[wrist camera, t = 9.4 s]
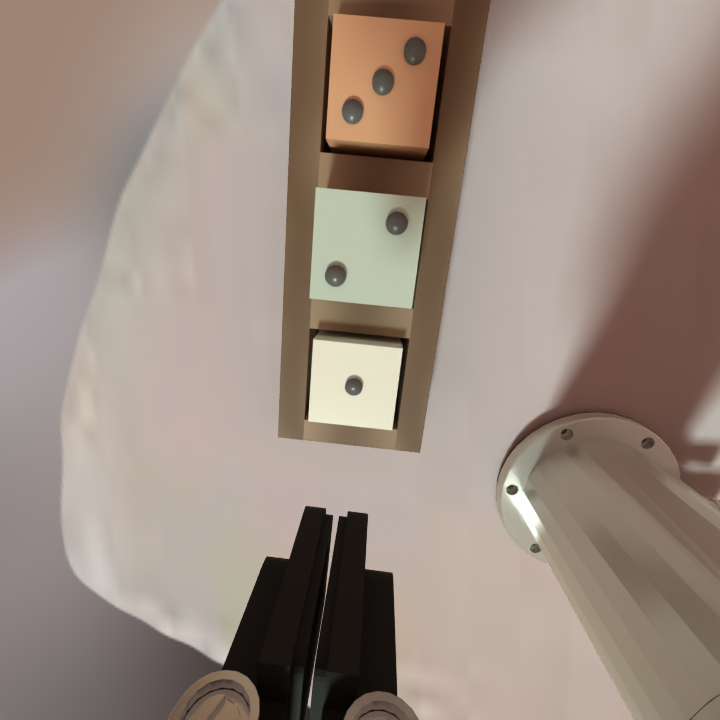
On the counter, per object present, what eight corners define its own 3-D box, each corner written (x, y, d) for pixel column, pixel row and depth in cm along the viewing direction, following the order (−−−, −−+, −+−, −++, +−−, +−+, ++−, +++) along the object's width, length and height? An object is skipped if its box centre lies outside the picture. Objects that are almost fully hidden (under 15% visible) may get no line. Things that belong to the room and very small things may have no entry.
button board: (470, 40, 21) (491, -8, 17) (414, 424, 27) (419, 452, 24) (310, 26, 21) (295, -25, 17) (292, 411, 28) (277, 437, 24)
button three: (430, 74, 22) (446, 20, 16) (418, 170, 23) (429, 146, 18) (343, 67, 22) (332, 10, 17) (336, 162, 23) (325, 137, 18)
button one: (398, 330, 26) (403, 349, 21) (389, 399, 27) (392, 431, 22) (325, 323, 26) (312, 340, 21) (320, 391, 27) (307, 422, 22)
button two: (416, 210, 22) (427, 197, 17) (404, 297, 23) (412, 309, 18) (329, 202, 22) (315, 186, 17) (323, 289, 23) (308, 299, 18)
